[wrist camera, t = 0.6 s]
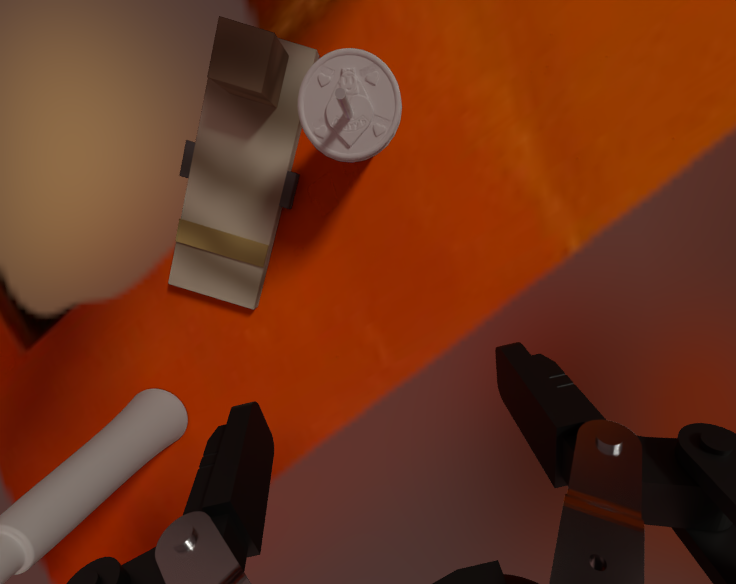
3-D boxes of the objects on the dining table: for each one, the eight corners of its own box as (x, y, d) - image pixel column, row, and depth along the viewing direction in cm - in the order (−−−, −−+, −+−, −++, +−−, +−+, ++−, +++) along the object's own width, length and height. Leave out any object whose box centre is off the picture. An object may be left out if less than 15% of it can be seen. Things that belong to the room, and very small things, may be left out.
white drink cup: (324, 176, 34) (279, 151, 20) (321, 96, 33) (271, 11, 19) (399, 174, 33) (404, 147, 20) (398, 93, 32) (404, 4, 19)
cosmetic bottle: (150, 375, 38) (-154, 582, 17) (200, 413, 39) (-35, 660, 17) (118, 418, 40) (-206, 662, 18) (167, 454, 40) (-93, 733, 19)
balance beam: (216, 24, 32) (183, -12, 27) (328, 58, 32) (316, 29, 27) (167, 278, 36) (130, 289, 31) (266, 308, 36) (245, 324, 31)
